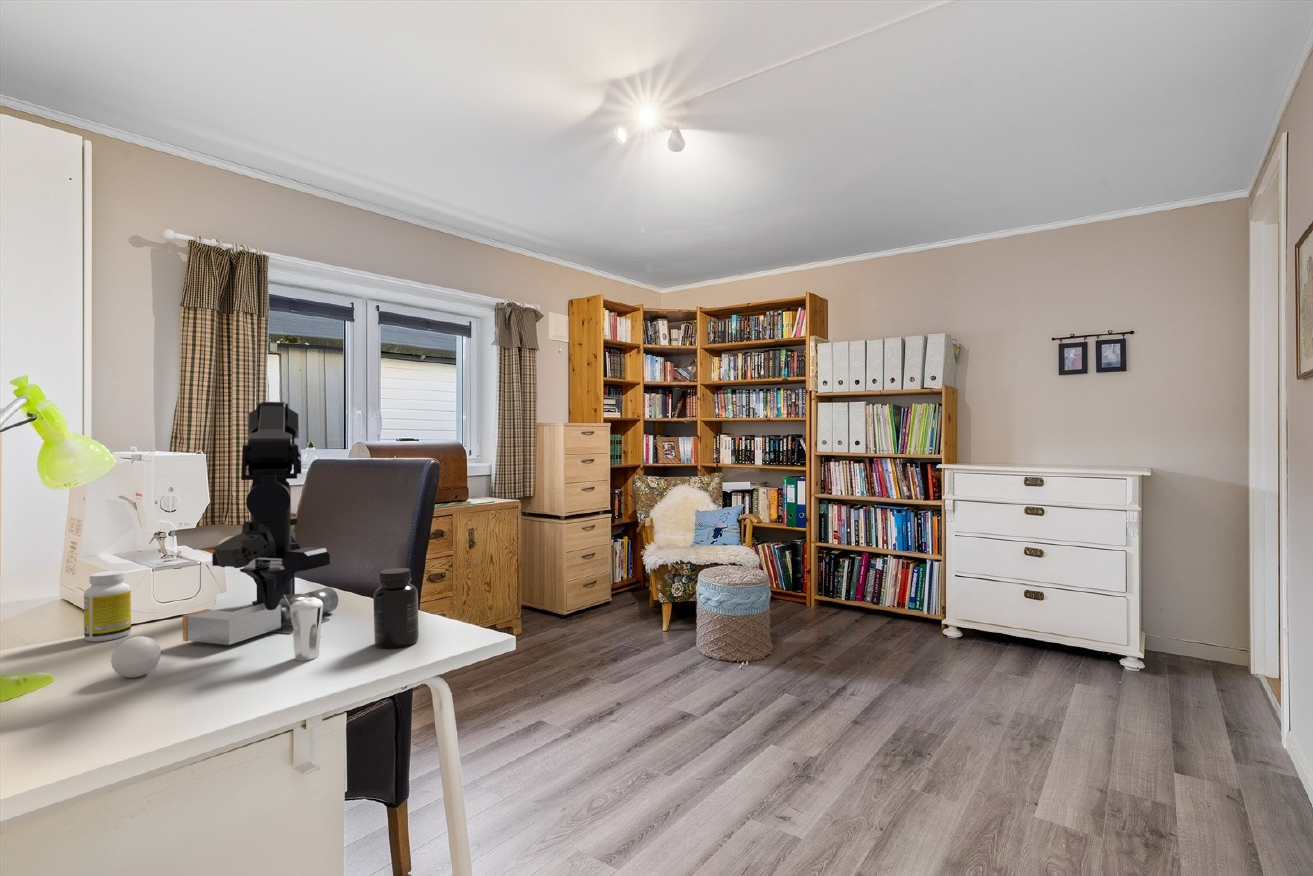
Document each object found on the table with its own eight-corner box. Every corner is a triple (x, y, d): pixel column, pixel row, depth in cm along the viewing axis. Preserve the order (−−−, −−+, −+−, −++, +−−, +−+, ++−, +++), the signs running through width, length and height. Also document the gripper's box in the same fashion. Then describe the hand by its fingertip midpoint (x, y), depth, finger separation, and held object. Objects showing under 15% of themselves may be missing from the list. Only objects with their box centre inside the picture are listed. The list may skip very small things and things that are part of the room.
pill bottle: (140, 632, 115) (140, 569, 115) (107, 643, 109) (107, 577, 109) (108, 631, 116) (108, 569, 116) (74, 642, 109) (73, 576, 109)
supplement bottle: (408, 634, 112) (407, 564, 112) (425, 643, 107) (425, 570, 107) (367, 643, 107) (366, 570, 107) (383, 652, 102) (383, 576, 103)
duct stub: (309, 610, 128) (309, 585, 128) (347, 614, 126) (347, 588, 126) (249, 630, 115) (249, 602, 115) (290, 634, 113) (289, 605, 113)
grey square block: (238, 624, 117) (237, 600, 117) (280, 628, 114) (280, 604, 114) (182, 641, 107) (182, 615, 107) (228, 645, 104) (228, 619, 104)
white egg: (162, 677, 93) (162, 637, 93) (110, 687, 89) (110, 646, 89) (160, 663, 99) (160, 626, 99) (111, 671, 95) (111, 633, 95)
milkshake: (287, 655, 101) (286, 591, 102) (325, 651, 103) (324, 588, 103) (281, 664, 97) (280, 598, 97) (321, 660, 99) (320, 594, 99)
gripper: (179, 518, 101) (179, 619, 101) (274, 521, 96) (275, 628, 96) (243, 510, 112) (243, 601, 112) (332, 513, 106) (332, 608, 106)
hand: (271, 609), depth 106 cm, fingers closed
